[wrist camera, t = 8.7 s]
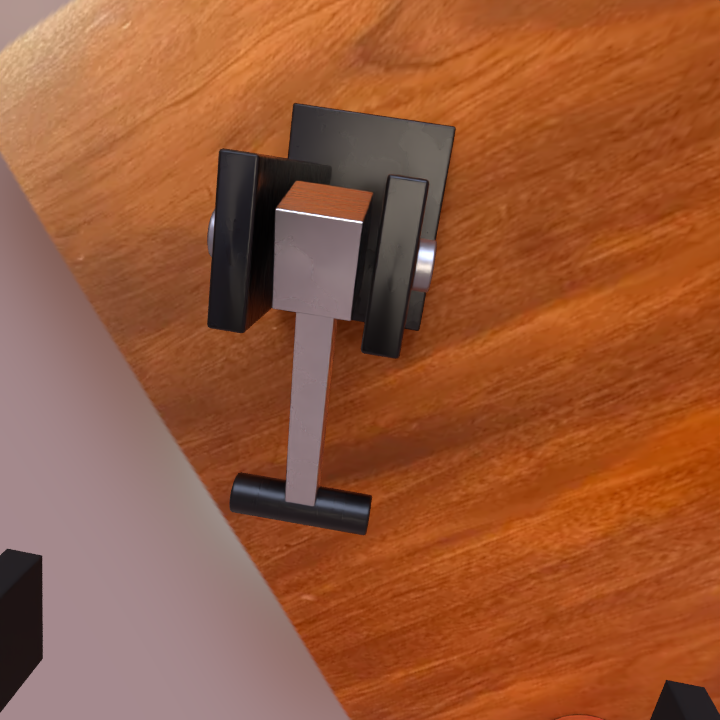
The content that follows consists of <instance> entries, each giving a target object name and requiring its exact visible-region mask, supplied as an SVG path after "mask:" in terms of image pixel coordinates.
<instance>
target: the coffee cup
mask: <svg viewBox="0 0 720 720" xmlns="http://www.w3.org/2000/svg"><path fill="white" fill-rule="evenodd" d="M555 720H603V719H600V718H597V717H593V716H587V715H571V716H565V717H561V718H558V719H555Z"/></svg>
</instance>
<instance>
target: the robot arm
mask: <svg viewBox="0 0 720 720" xmlns="http://www.w3.org/2000/svg"><path fill="white" fill-rule="evenodd" d="M42 625H43V624H42V556H41V555H36V554H31V553H26V552H21V551H16V550H11V549H7V550H5V551H4V552H3V553H2V554H1V555H0V712H1V711H2V710H3V709H4V707H5V706H6V705H7V703H8V702H9V701H10V700H11V698H12V697H13V696H14V695H15V693H16V692H17V690H18V689H19V688H20V687H21V686H22V684H23V683H24V682H25V680H26V679H27V678H28V677H29V675H30V674H31V673H32V672H33V670H34V669H35V668H36V666H37V665H38V664H39V663H40V661H41V660H42V659H43V645H42V644H43V633H42V632H43V631H42V630H43V626H42ZM650 720H720V714H719V713H718V711H717V709H716V707H715V705H714V704H713V702H712V700H711V698H710V697H709V695H708V693H707V691H706V690H705V688H704V687H699V686H694V685H689V684H684V683H679V682H674V681H669V680H666V682H665V684H664V687H663V689H662V692H661V694H660V697H659V699H658V702H657V704H656V707H655V709H654V712H653V714H652V716H651V719H650Z"/></svg>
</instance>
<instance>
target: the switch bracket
mask: <svg viewBox="0 0 720 720" xmlns="http://www.w3.org/2000/svg"><path fill="white" fill-rule="evenodd" d="M455 130H456V128H455V127H453V126H447V125H440V124H433V123H426V122H420V121H413V120H406V119H399V118H392V117H386V116H379V115H372V114H365V113H359V112H352V111H345V110H338V109H331V108H325V107H318V106H311V105H304V104H298V103H294V104H293V112H292V121H291V131H290V141H289V151H288V159H287V158H281V157H275V156H269V155H263V154H257V153H250V152H243V151H237V150H230V149H224V148H223V149H220V151H219V158H218V173H217V188H216V203H215V210H214V211H213V213H212V216H211V219H210V222H209V227H208V236H207V242H208V250H209V254H210V256H211V257H212V262H211V277H210V291H209V306H208V321H207V325H208V327H209V328H212V329H219V330H225V331H231V332H237V333H244V332H245V331H246V330H248V329H249V328H250V327H251V326H252V325H253V324H254V323H255V322H257V321H258V320H259V319H260V318H261V317H262V316H263V315H264V314H265V313H267V312H268V311H269V310H270V309H271V308H272V306H271V304H272V274H273V244H274V215H275V208H276V207H277V205H278V204H279V203H280V201H281V200H282V199H283V197H284V196H285V195H286V193H287V192H288V191H289V189H290V188H291V187H292V185H293V184H294V183H295V181H303V182H309V183H316V184H322V185H329V186H335V187H342V188H348V189H355V190H361V191H368V192H373V194H374V195H373V203H372V211H371V219H370V227H369V234H368V242H367V250H366V258H365V266H364V274H363V281H362V285H361V289H360V293H359V296H358V300H357V303H356V307H355V310H354V314H353V317H352V320H354V321H360V322H365V325H364V332H363V338H362V345H361V352H362V353H364V354H370V355H376V356H382V357H389V358H395V359H396V358H399V356H400V352H401V346H402V340H403V334H404V329H410V330H416V331H418V330H419V329H420V324H421V318H422V312H423V307H424V301H425V296H426V292H428V290H429V288H430V283H431V279H432V274H433V268H434V262H435V256H436V248H437V242H436V235H437V230H438V224H439V219H440V213H441V207H442V202H443V196H444V191H445V185H446V180H447V174H448V169H449V163H450V158H451V152H452V147H453V141H454V136H455Z"/></svg>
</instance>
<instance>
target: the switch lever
mask: <svg viewBox="0 0 720 720" xmlns="http://www.w3.org/2000/svg"><path fill="white" fill-rule="evenodd" d="M373 195H374V194H373V192H368V191H361V190H355V189H348V188H342V187H335V186H329V185H322V184H316V183H309V182H303V181H295V183H294V184H293V185H292V187H291V188H290V189H289V191H288V192H287V193H286V195H285V196H284V197H283V199H282V200H281V201H280V203H279V204H278V205H277V207H276V208H275V215H274V244H273V274H272V304H271V306H272V308H273V309H279V310H285V311H291V312H296V323H295V340H294V356H293V373H292V389H291V406H290V422H289V439H288V455H287V472H286V480H282V479H276V478H270V477H265V476H259V475H253V474H247V473H242V472H241V473H238V474H237V476H236V478H235V480H234V483H233V486H232V490H231V495H230V510H231V511H232V512H236V513H241V514H247V515H252V516H258V517H264V518H269V519H275V520H281V521H286V522H292V523H297V524H303V525H309V526H314V527H320V528H325V529H331V530H337V531H342V532H348V533H354V534H359V535H366V532H367V527H368V521H369V515H370V509H371V502H372V496H371V495H367V494H362V493H356V492H350V491H345V490H339V489H333V488H327V487H322V486H320V480H321V471H322V462H323V452H324V443H325V433H326V424H327V415H328V405H329V396H330V386H331V377H332V368H333V358H334V349H335V339H336V330H337V320H338V319H341V320H347V321H351V320H352V317H353V314H354V310H355V307H356V303H357V300H358V296H359V293H360V289H361V285H362V281H363V274H364V266H365V258H366V250H367V242H368V234H369V227H370V219H371V211H372V203H373Z"/></svg>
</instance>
